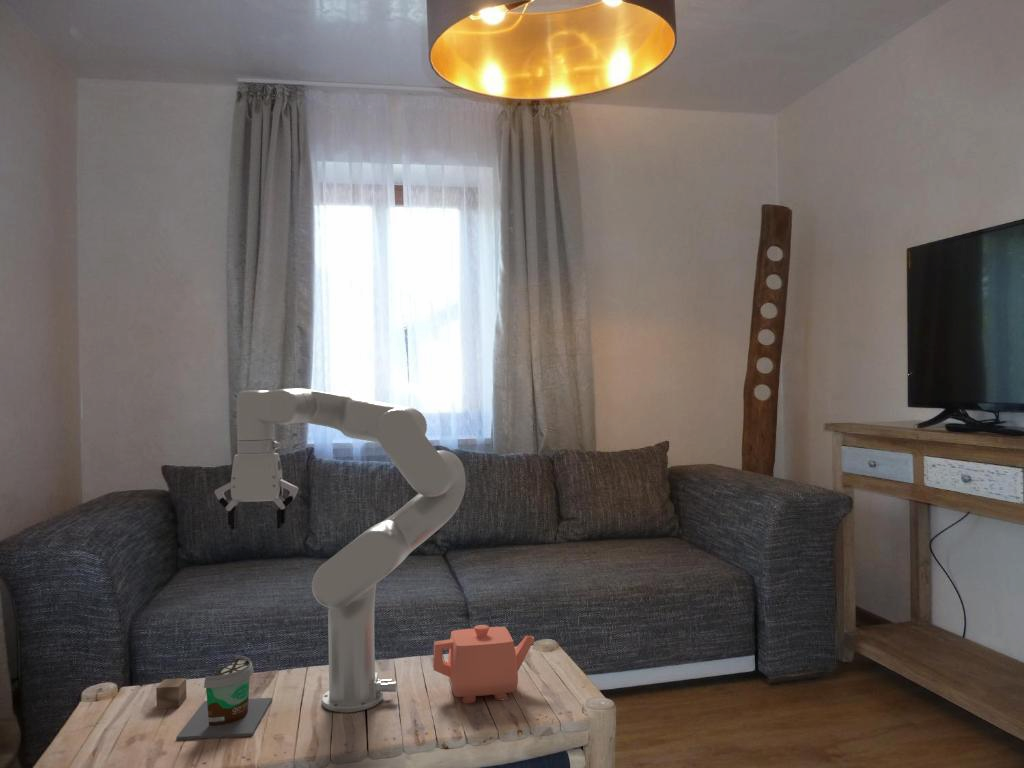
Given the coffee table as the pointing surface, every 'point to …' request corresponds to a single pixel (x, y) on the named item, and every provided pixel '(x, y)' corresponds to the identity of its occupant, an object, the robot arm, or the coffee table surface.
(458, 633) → the teapot
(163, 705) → the walnut block
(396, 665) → the coffee table surface
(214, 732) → the mat
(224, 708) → the food container
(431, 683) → the coffee table surface
